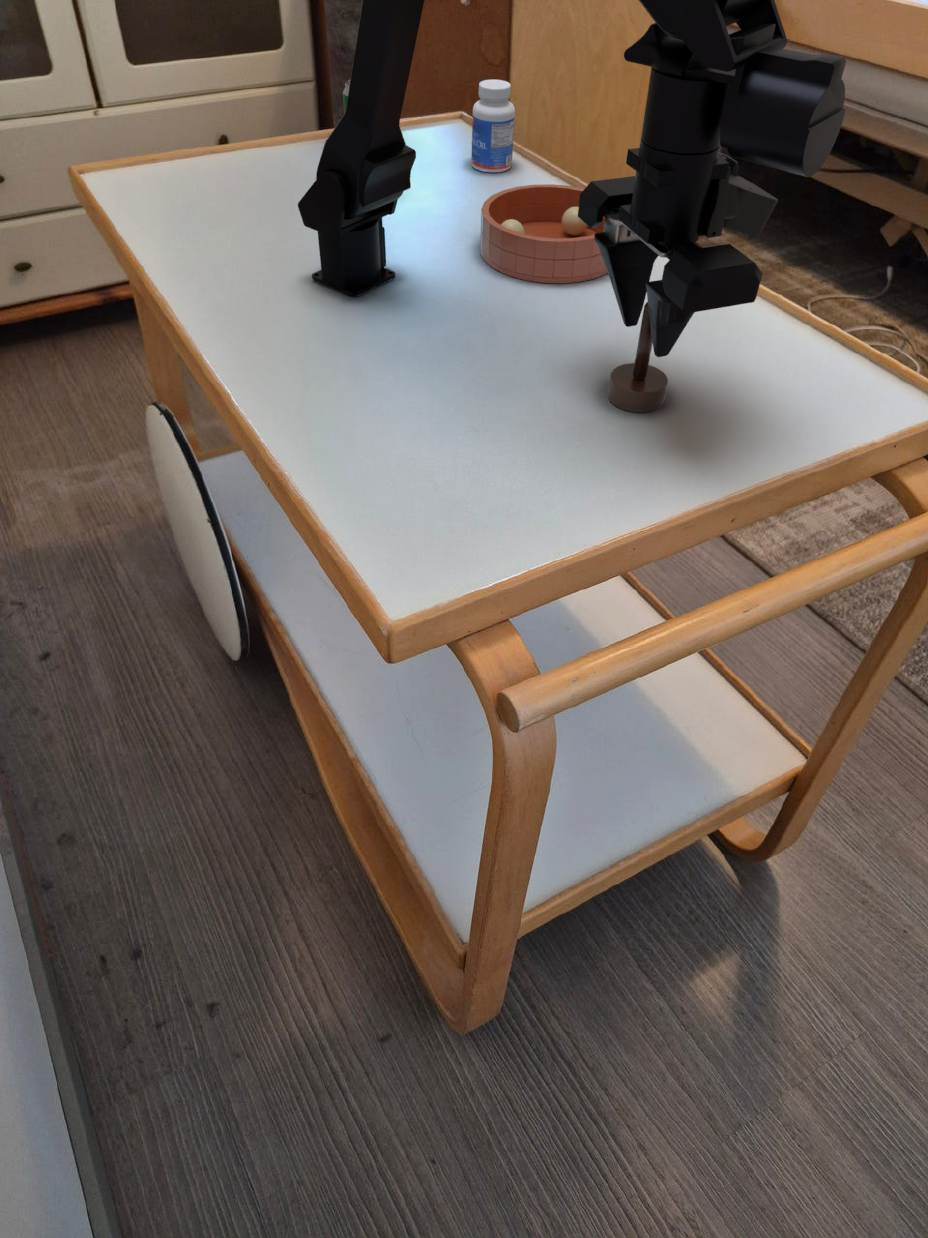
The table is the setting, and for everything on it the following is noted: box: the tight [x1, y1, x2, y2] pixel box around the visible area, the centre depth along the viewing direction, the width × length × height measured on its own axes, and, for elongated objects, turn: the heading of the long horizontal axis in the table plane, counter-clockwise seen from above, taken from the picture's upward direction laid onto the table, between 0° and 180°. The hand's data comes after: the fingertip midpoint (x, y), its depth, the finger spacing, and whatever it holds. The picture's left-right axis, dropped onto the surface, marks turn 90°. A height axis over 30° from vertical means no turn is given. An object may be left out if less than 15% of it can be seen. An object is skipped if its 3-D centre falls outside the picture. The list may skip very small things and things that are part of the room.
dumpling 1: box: [501, 219, 525, 234], centre depth 99 cm, size 3×3×3 cm
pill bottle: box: [470, 78, 516, 173], centre depth 116 cm, size 6×5×10 cm
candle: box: [323, 0, 363, 129], centre depth 117 cm, size 8×7×20 cm
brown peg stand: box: [607, 301, 669, 414], centre depth 77 cm, size 5×5×9 cm
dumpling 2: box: [562, 207, 587, 236], centre depth 102 cm, size 3×3×3 cm
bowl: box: [479, 183, 608, 284], centre depth 100 cm, size 16×16×4 cm
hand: (645, 340), depth 76 cm, fingers open, 5 cm apart
